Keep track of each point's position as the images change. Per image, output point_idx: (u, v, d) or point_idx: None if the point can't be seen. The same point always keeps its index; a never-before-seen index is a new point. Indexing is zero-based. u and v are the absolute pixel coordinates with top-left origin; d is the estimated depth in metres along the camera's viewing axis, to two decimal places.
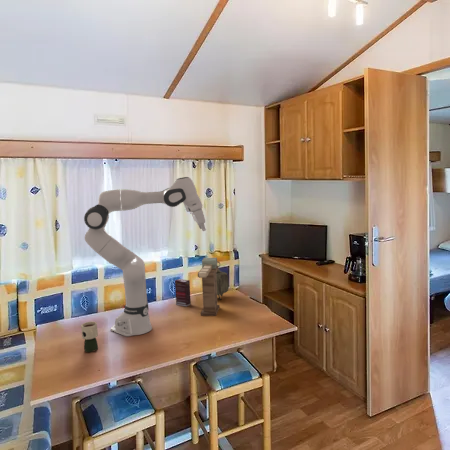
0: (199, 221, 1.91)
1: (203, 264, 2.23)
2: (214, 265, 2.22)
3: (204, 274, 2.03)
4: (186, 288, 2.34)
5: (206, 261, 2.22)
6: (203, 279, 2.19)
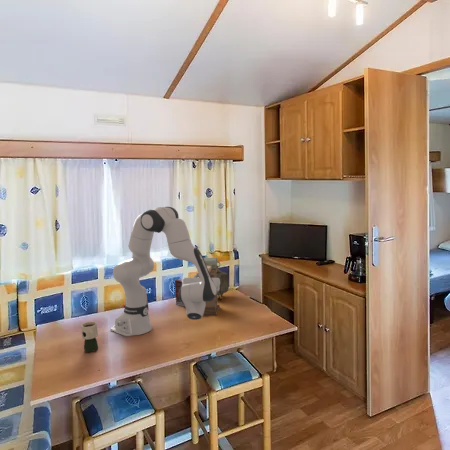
0: None
1: None
2: (214, 265, 2.22)
3: None
4: None
5: (206, 261, 2.22)
6: None
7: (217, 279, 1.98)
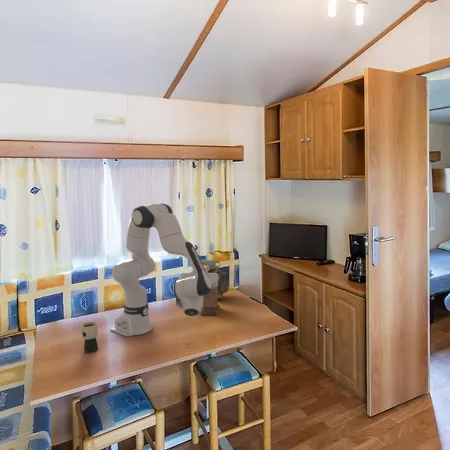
0: None
1: None
2: (212, 266, 2.17)
3: None
4: None
5: (204, 261, 2.17)
6: None
7: (215, 274, 1.92)
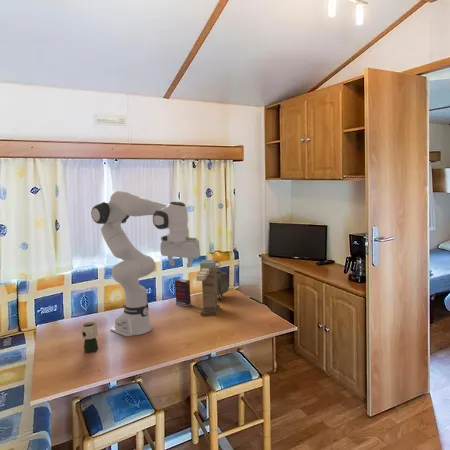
0: None
1: (201, 266, 2.17)
2: (212, 267, 2.16)
3: (202, 277, 1.97)
4: (186, 288, 2.34)
5: (204, 263, 2.17)
6: None
7: None
